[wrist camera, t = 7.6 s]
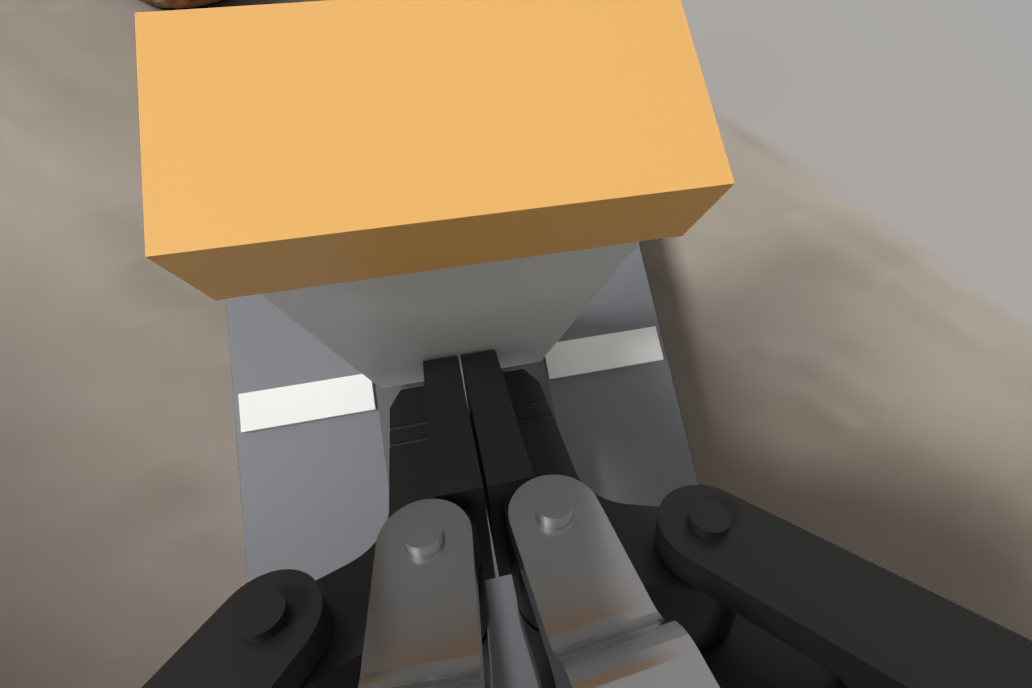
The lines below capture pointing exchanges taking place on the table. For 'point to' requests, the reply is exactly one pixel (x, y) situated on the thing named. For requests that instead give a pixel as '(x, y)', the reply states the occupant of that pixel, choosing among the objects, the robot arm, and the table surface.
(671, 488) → the grey slider track base
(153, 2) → the sauce bottle
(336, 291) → the fader tab
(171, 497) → the table surface
